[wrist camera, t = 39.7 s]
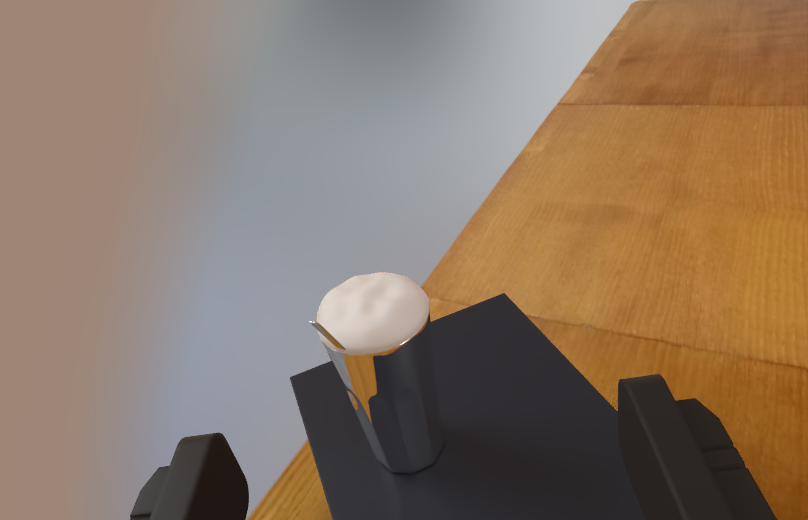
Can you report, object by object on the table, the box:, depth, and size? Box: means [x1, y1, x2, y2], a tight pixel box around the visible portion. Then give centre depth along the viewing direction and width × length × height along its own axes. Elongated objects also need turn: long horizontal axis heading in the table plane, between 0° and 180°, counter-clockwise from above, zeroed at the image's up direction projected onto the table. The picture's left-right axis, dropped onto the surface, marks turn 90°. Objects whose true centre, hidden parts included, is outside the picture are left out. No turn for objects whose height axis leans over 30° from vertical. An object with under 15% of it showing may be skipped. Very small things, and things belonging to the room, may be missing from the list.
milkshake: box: [310, 272, 444, 474], centre depth 26 cm, size 4×5×10 cm
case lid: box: [290, 293, 645, 520], centre depth 29 cm, size 16×14×1 cm
